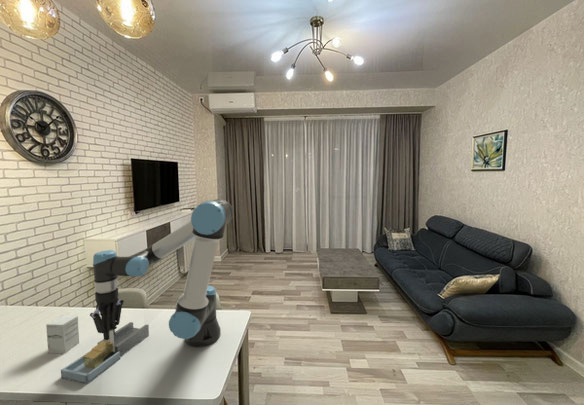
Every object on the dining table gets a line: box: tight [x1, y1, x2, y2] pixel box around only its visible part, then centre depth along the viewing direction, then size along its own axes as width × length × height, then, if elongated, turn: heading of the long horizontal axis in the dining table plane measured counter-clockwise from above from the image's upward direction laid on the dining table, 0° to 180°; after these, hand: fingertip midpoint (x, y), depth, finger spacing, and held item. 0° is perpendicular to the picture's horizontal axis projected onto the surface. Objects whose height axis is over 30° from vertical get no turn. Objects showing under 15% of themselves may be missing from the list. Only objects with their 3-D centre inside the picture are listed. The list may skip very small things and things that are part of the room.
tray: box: [60, 352, 121, 385], centre depth 97 cm, size 12×13×3 cm
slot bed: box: [97, 322, 150, 358], centre depth 111 cm, size 10×16×5 cm, turn 167°
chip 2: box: [91, 340, 114, 359], centre depth 101 cm, size 5×4×4 cm
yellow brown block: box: [82, 349, 104, 369], centre depth 98 cm, size 5×4×4 cm
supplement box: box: [46, 315, 80, 354], centre depth 108 cm, size 7×7×13 cm
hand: (109, 345), depth 104 cm, fingers closed
